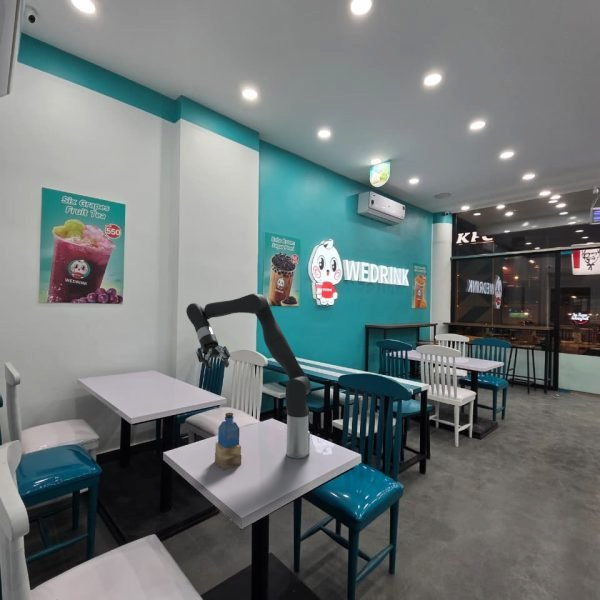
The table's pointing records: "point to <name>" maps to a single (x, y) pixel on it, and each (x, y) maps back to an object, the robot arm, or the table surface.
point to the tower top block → (228, 451)
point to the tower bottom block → (227, 462)
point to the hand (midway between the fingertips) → (218, 367)
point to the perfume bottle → (228, 432)
